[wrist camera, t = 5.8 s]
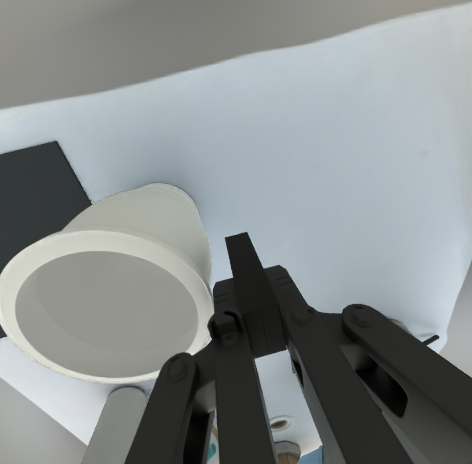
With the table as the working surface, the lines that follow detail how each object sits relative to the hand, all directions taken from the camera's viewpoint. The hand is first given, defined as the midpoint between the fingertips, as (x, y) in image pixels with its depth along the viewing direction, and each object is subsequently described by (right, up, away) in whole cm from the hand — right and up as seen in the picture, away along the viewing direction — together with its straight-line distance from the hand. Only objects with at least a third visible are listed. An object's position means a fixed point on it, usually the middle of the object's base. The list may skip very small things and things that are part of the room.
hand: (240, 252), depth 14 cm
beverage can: (-19, -27, +22) cm, 40 cm away
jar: (-9, +3, +10) cm, 14 cm away
